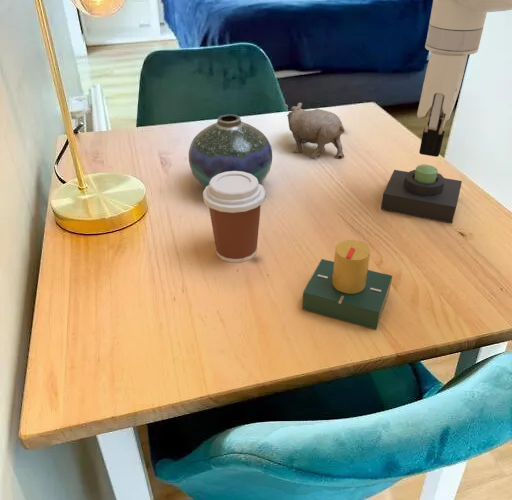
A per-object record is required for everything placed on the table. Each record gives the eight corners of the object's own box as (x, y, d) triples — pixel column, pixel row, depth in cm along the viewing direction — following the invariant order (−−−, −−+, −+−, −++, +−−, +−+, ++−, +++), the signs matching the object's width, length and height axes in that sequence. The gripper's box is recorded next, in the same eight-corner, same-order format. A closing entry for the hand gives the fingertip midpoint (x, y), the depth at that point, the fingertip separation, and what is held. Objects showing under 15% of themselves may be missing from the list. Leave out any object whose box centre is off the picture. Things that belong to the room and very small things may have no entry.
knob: (337, 270, 70) (341, 235, 66) (369, 277, 68) (374, 242, 65) (327, 288, 66) (331, 252, 63) (360, 297, 65) (365, 261, 61)
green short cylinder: (436, 177, 89) (439, 166, 87) (434, 186, 86) (436, 175, 85) (415, 173, 90) (417, 163, 89) (412, 182, 87) (414, 171, 86)
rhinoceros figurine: (330, 159, 99) (307, 86, 99) (289, 177, 111) (268, 111, 110) (357, 152, 104) (335, 82, 103) (315, 170, 115) (295, 106, 114)
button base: (458, 196, 92) (464, 171, 89) (452, 223, 85) (458, 197, 82) (391, 184, 96) (395, 160, 93) (380, 209, 89) (384, 184, 86)
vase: (268, 166, 103) (269, 102, 95) (275, 204, 91) (276, 133, 83) (193, 169, 102) (187, 104, 95) (189, 207, 90) (182, 136, 82)
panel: (389, 291, 70) (393, 273, 69) (376, 331, 64) (379, 312, 62) (320, 274, 74) (322, 256, 72) (301, 310, 67) (302, 292, 66)
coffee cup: (265, 267, 75) (265, 197, 68) (204, 267, 75) (198, 197, 68) (265, 234, 83) (265, 167, 76) (209, 234, 83) (204, 167, 76)
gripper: (433, 26, 81) (414, 134, 92) (418, 48, 70) (398, 168, 81) (483, 29, 79) (457, 140, 89) (476, 53, 68) (447, 176, 78)
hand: (429, 153), depth 85 cm, fingers closed
